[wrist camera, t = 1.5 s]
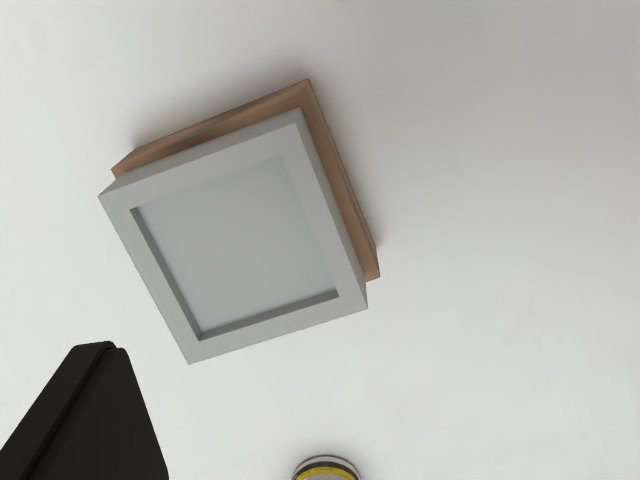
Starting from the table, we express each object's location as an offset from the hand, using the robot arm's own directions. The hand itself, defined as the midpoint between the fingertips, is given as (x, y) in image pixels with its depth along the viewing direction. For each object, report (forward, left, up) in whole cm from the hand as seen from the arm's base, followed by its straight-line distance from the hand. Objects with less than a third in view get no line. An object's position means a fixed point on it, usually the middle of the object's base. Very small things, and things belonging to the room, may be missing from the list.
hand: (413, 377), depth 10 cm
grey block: (+7, +3, -19) cm, 21 cm away
